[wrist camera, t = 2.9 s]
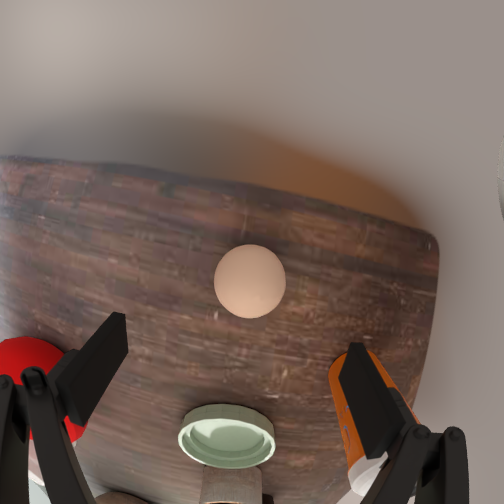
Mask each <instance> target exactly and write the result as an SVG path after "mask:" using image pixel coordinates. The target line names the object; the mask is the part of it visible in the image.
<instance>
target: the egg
mask: <svg viewBox="0 0 504 504" xmlns="http://www.w3.org/2000/svg"><path fill="white" fill-rule="evenodd" d="M285 287H286V278H285V272H284V268H283V265H282V264H281V262H280V260H279V259H278V258H277V256H276V255H275V254H274V253H272V252H271V251H270V250H268V249H266V248H265V247H262V246H258V245H242V246H239V247H236V248H234V249H232V250H230V251H229V252H228V253H226V254H225V255H224V256H223V258H222V259H221V261H220V262H219V263H218V266H217V269H216V271H215V276H214V288H215V291H216V295H217V297H218V299H219V301H220V303H221V304H222V305H223V306H224V307H225V308H226V309H227V310H228V311H230V312H231V313H233V314H235V315H237V316H239V317H244V318H257V317H260V316H262V315H265V314H267V313H269V312H270V311H271V310H273V309H274V308H275V307H276V306H277V305H278V304H279V303H280V301H281V299H282V297H283V294H284V291H285Z"/></svg>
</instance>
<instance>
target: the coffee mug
mask: <svg viewBox="0 0 504 504" xmlns="http://www.w3.org/2000/svg"><path fill="white" fill-rule="evenodd" d="M262 504H274V501H273V497H272V496H270V495H267V494H262Z"/></svg>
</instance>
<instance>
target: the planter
mask: <svg viewBox="0 0 504 504" xmlns="http://www.w3.org/2000/svg"><path fill="white" fill-rule="evenodd" d="M199 504H262V473H261V470H260V469H259V468H258V467H256V466H252V467H248V468H241V469H225V468H217V467H213V466H209V465H207V466H206V467H205V468H204V471H203V478H202V487H201V495H200V502H199Z"/></svg>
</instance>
